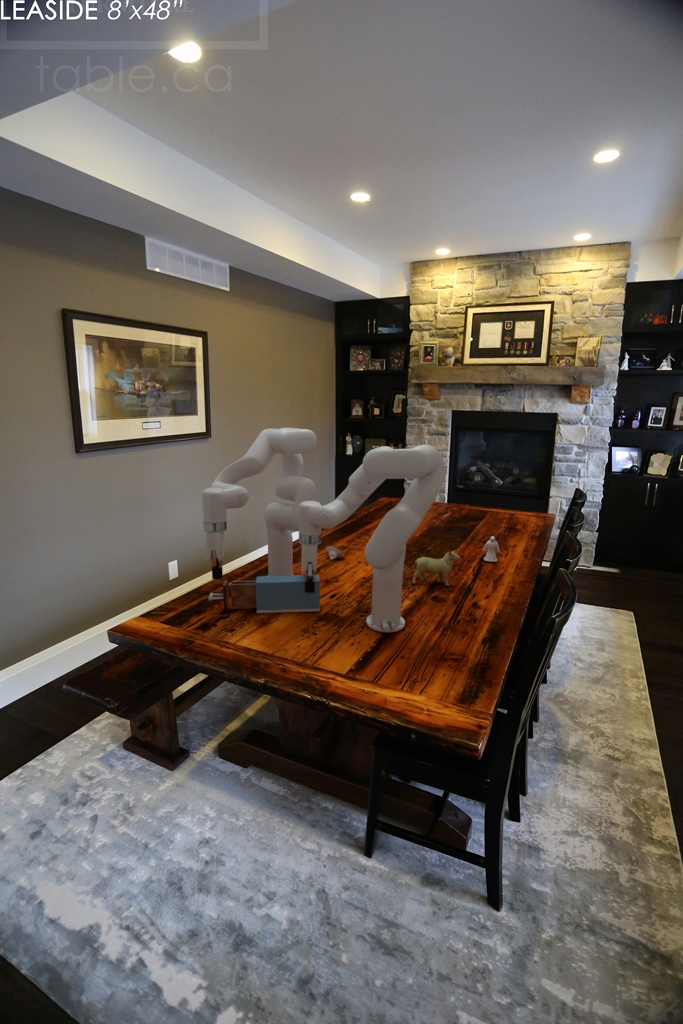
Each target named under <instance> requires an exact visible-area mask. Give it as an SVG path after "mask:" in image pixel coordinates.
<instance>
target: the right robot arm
mask: <svg viewBox="0 0 683 1024" xmlns="http://www.w3.org/2000/svg"><path fill="white" fill-rule="evenodd" d="M445 478H446V465H445V461H444V459H443V456H442V455H441V453H440V452H439V450H438V449H436V448H435V447H434V446H432V445H430V444H420V445H416V446H414V447H412V448H393V447H391V446H387V445H382V446H378V447H375V448H373V449H371V450H369V451H368V452H366V453H365V455H364V456H363V459H362V463H361V464H360V465H359V467H357V469H355V470H354V472H353V473H352V474H351V475H350V476H349V478H348V483H347V484H348V485H347V486H346V488H344V490H343V491H342V492H341V493H340V494H339V495H338V496H337V497H336V498H335V499H334V500H333V501H331V502H329V503H327V504H324V505H322V504H321V502H319V501H317V500H316V501H315V500H314V501H304V502H301V503H300V505H299V531H298V544H300V545H301V552H300V554H301V557H300V558H301V560H300V563H301V567H300V568H301V569H300V570H301V574H302V575H306V581H305V593H314V592H315V581H314V575H316V573H317V565H318V546H319V545H321V544H322V529H325V530H326V529H327V530H331V529H334V528H335V527H337V526H339V525H341V523H343V522H345V521H347V519H349V517H351V516H352V515H353V514H354V513H355V511H356V510H358V509H359V508H360V507H361V506H362V505H363V503H365V501H366V500H367V499H368V498H369V497H370V496H371V495H373V493H374V492H375V491H376V490H377V489H378V488H379V487H380V486H381V485H382V484H383V483H384V482H385V481H386V480H406V479H409V480H412V479H413V481H412V482H411V483H410V485H409V486H408V488H407V490H406V491H405V493H404V495H403V497H402V498H401V500H400V501H399V502H398V503H397V504H396V505H395V506H394V507H393V508H391V509H390V510H389V511H387V513H385V515H384V516H383V517H382V519H381V520H380V522H379V524H378V526H377V527H376V529H375V530H374V532H373V533H372V535H371V537H370V538H369V540H368V542H367V544H366V545H365V548H364V558H365V560H366V563H367V564H368V566H370V567H372V585H371V586H372V587H371V607H370V609H371V613H370V615H368V616H367V617H366V621H365V622H366V623H365V624H366V625H367V627H368V628H369V629H372V630H373V631H376V632H379V633H396V632H398V631H402V630H403V629H404V628H405V626H406V620H405V618H403V617H402V615H401V614H402V599H403V598H402V597H403V580H404V567H405V559H406V552H407V542H408V541H409V540H410V538H411V537H412V535H414V533H415V532H416V531H417V530H418V529H419V527H420V526H421V523H422V521H423V520H424V518H425V517H426V515H427V513H428V512H429V510H430V509H431V507H432V505H433V504H434V502H435V500H436V499H437V497H438V495H439V494H440V492H441V490H442V488H443V486H444V482H445ZM307 575H308V576H307Z"/></svg>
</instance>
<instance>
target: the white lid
mask: <svg viewBox="0 0 683 1024" xmlns="http://www.w3.org/2000/svg"><path fill="white" fill-rule="evenodd" d="M325 551H326V552H327V553H328V556H329V560H331V561H333V560H335V559H336V558H343V553H342V551H341V550H340V549H338V548H337V547H335V546H329V545H328V546H326V547H325Z"/></svg>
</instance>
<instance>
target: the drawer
mask: <svg viewBox="0 0 683 1024" xmlns="http://www.w3.org/2000/svg"><path fill="white" fill-rule="evenodd" d="M255 583H256V580H231V581H230V584H229V580H228V579H226V580H225V579H224V581H223V583H222V593H214V592H210V593H209V595H208V597H207V600H208V601H212V600H223V602H222V603H223V611H225V612H227V611H229V607H230V606H231V610H243V609H246V610H247V609H257V607H256V584H255ZM229 589H230V591H229Z"/></svg>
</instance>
